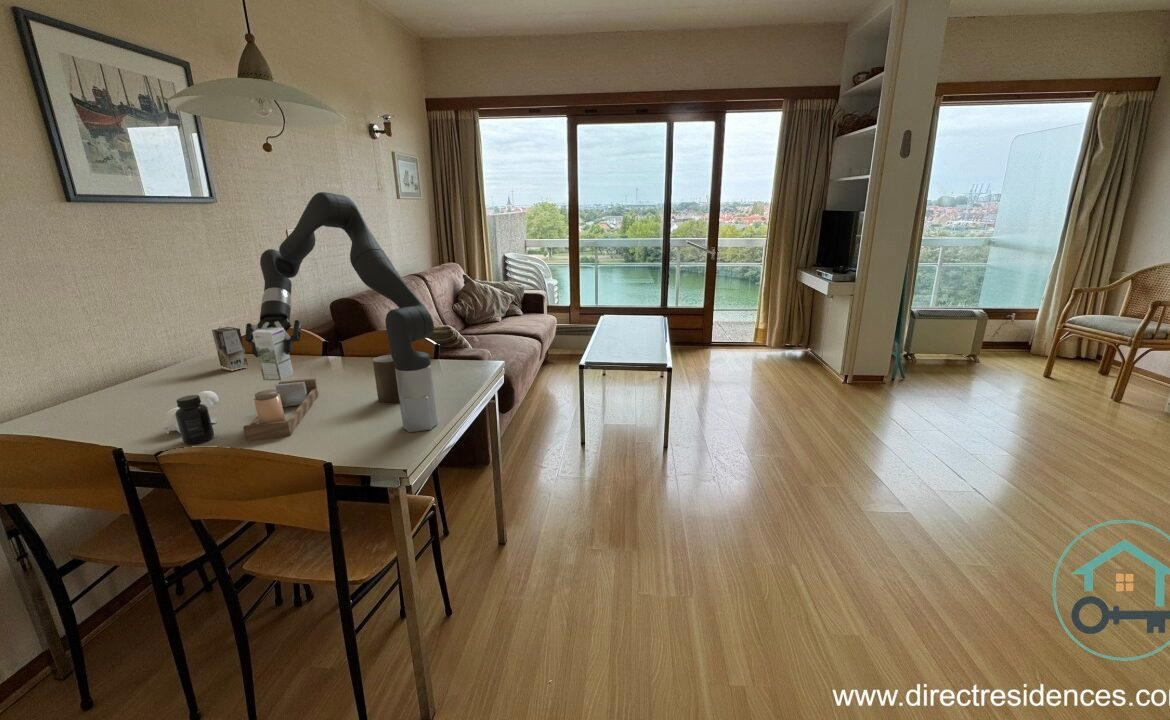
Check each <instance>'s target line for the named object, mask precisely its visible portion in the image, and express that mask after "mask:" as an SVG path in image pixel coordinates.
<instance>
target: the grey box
mask: <svg viewBox="0 0 1170 720" xmlns="http://www.w3.org/2000/svg"><path fill="white" fill-rule="evenodd" d="M274 387H275V390H277V393H278V394H280V398H281V403H282V407H283V408H284V407H285V408H286V407H292V406H293V407H294V406H300V405H301V403H302V402H303V401H304V399H305V398H306V397H307V391H306V386H305V382H295V383H285V384H278V383H277V384H276V385H275V386H274Z"/></svg>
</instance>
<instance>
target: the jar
mask: <svg viewBox="0 0 1170 720" xmlns="http://www.w3.org/2000/svg"><path fill="white" fill-rule="evenodd" d="M253 402H254V406H255V409H256V414H257V416H258V419H259V424H262V423H271V422H280V421H286V417H285V411H284V407H282V403H281V398H280V394H278V393H277V390H276V389H265V390H261V391H258V392H256V393H255V394H254V398H253Z"/></svg>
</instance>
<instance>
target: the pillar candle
mask: <svg viewBox="0 0 1170 720" xmlns="http://www.w3.org/2000/svg"><path fill="white" fill-rule="evenodd" d="M372 365H373V372H374V379H375V385H376V386H375V388H376V392H377V393H376V395H377V399H378V402H379V403H381V404H386V405H387V404H388V405H389V404H391V405H392V404H398V403H400V401H399V394H398V386H397V379H396V371H395V365H394V361H393V359H392V356H391V354H386V355H385V354H384V355H381V356H377V357H373V359H372Z"/></svg>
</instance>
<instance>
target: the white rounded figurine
mask: <svg viewBox="0 0 1170 720" xmlns="http://www.w3.org/2000/svg"><path fill="white" fill-rule="evenodd" d="M196 395H199V397H200V400H201V403H200V404H203V405H205V406H206V407H207V408H208V410H210V409H211V410H212V409H213V408H214V407H215V406H216V405H218V403H219V400H220V399H219V396H218V395H217V394H216V392H214V391H212V390H204V391H200V392H198V393H197V394H196ZM178 409H179V407H178V406H177V407H174V408H171V409H169V410H168V411H167V412H166V413H165V415H164V420H163V423H162V426H161V427H160V428H161V429H162V430H164V433H166V432H170V433H171V432H174V431H175V432H178V433H179V434H180V435H181V433H180V430H179V426H178V423H177V420H176V416H175V413H176V411H177V410H178ZM210 419H211V423H212V424H217V423H218V422H217V421H219V420H218V419H217V418H216V417H214V416H212V415H210ZM216 422H217V423H216Z"/></svg>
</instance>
